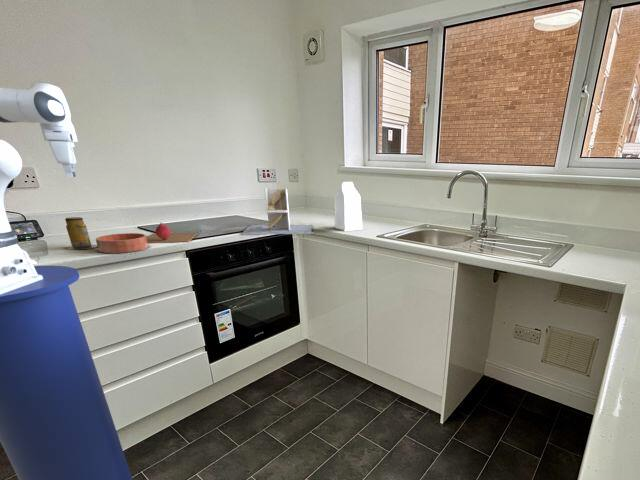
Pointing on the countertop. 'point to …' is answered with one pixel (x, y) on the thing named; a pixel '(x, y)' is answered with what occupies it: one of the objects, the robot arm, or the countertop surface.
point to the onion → (163, 231)
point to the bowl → (122, 242)
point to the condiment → (78, 233)
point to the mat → (171, 238)
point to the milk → (348, 208)
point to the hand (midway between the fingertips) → (71, 177)
